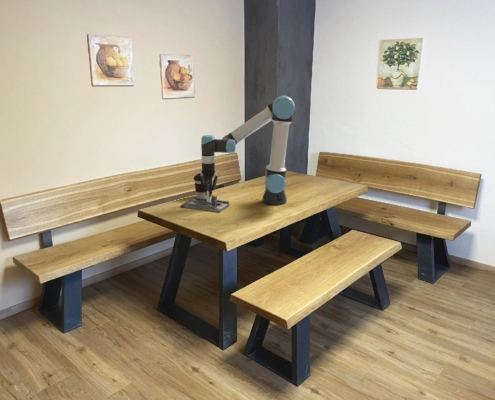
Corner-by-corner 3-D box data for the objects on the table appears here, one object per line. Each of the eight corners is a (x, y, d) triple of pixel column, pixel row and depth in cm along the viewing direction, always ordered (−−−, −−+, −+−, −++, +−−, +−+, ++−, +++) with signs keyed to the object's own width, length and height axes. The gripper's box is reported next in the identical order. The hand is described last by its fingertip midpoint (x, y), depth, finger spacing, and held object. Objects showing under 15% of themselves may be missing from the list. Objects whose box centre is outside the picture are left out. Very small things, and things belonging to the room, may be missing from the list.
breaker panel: (229, 206, 250) (229, 202, 250) (220, 212, 239) (219, 208, 238) (191, 201, 260) (191, 197, 259) (180, 207, 248) (180, 203, 248)
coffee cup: (207, 199, 262) (206, 176, 258) (192, 198, 264) (191, 175, 260) (211, 195, 272) (211, 173, 267) (197, 194, 274) (196, 172, 269)
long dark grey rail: (229, 203, 255) (229, 200, 255) (227, 204, 253) (227, 202, 252) (195, 199, 264) (195, 196, 263) (193, 200, 261) (192, 197, 261)
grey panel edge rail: (195, 201, 259) (195, 198, 259) (183, 207, 247) (183, 205, 247) (193, 201, 260) (192, 198, 260) (181, 207, 248) (181, 204, 247)
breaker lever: (217, 204, 248) (217, 193, 246) (214, 206, 244) (214, 195, 242) (214, 204, 249) (213, 192, 247) (211, 206, 245) (210, 194, 243)
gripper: (221, 162, 241) (221, 200, 248) (201, 160, 246) (202, 198, 253) (215, 164, 235) (215, 204, 242) (195, 162, 239) (196, 201, 246)
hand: (208, 201), depth 247 cm, fingers closed
